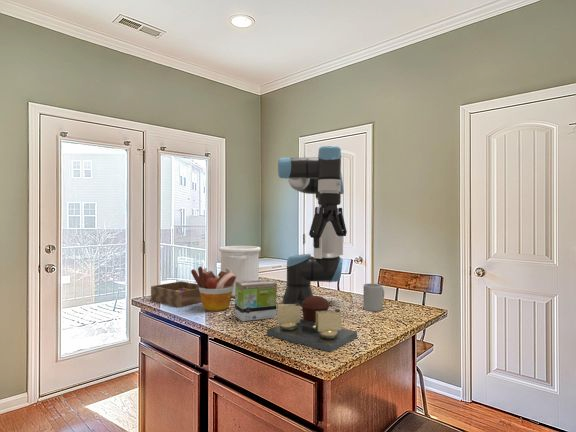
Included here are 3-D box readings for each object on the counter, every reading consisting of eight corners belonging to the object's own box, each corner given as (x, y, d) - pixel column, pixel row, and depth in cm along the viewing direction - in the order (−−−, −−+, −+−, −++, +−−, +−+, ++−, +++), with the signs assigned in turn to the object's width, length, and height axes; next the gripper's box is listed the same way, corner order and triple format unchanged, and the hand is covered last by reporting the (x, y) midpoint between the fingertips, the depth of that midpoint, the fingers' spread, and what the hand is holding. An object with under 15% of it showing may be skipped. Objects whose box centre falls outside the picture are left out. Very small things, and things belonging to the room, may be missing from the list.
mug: (374, 312, 164) (374, 287, 164) (359, 308, 170) (359, 284, 170) (390, 308, 171) (391, 284, 171) (375, 304, 178) (376, 282, 178)
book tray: (150, 300, 184) (151, 286, 184) (181, 294, 198) (181, 281, 198) (179, 307, 170) (179, 292, 170) (210, 300, 184) (210, 286, 184)
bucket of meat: (220, 301, 182) (221, 261, 182) (243, 307, 171) (243, 264, 171) (185, 309, 167) (185, 265, 167) (207, 316, 156) (208, 268, 156)
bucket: (258, 299, 188) (258, 249, 188) (214, 298, 188) (214, 249, 188) (262, 289, 214) (262, 245, 214) (223, 288, 214) (223, 245, 214)
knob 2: (319, 339, 120) (319, 312, 120) (314, 333, 126) (314, 308, 126) (342, 337, 122) (343, 311, 122) (336, 332, 128) (336, 307, 128)
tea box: (242, 322, 147) (243, 285, 147) (234, 316, 156) (234, 281, 156) (277, 318, 154) (277, 282, 154) (267, 312, 163) (267, 278, 163)
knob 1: (277, 330, 130) (277, 305, 130) (276, 325, 136) (276, 301, 136) (300, 329, 130) (300, 305, 130) (298, 324, 136) (298, 301, 136)
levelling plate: (266, 335, 131) (266, 323, 131) (296, 323, 146) (296, 312, 146) (330, 351, 116) (330, 338, 116) (356, 337, 130) (357, 325, 130)
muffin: (307, 327, 141) (308, 300, 141) (295, 319, 152) (296, 295, 152) (335, 323, 146) (335, 298, 146) (321, 316, 156) (321, 292, 156)
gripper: (318, 190, 112) (318, 260, 112) (356, 194, 132) (356, 254, 132) (298, 191, 117) (297, 258, 117) (338, 195, 136) (337, 252, 136)
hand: (328, 256), depth 124 cm, fingers open, 13 cm apart
